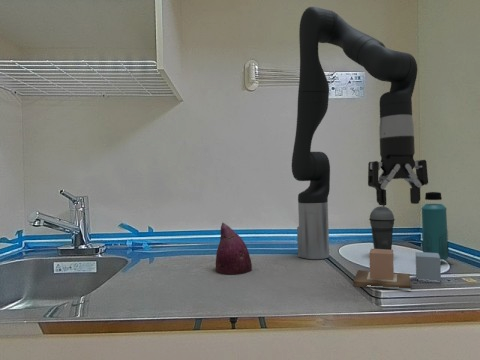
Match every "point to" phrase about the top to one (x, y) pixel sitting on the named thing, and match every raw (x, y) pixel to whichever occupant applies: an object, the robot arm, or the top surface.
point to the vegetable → (232, 253)
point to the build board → (364, 279)
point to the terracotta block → (381, 264)
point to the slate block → (428, 266)
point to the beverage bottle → (435, 227)
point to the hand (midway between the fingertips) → (398, 204)
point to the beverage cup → (382, 227)
